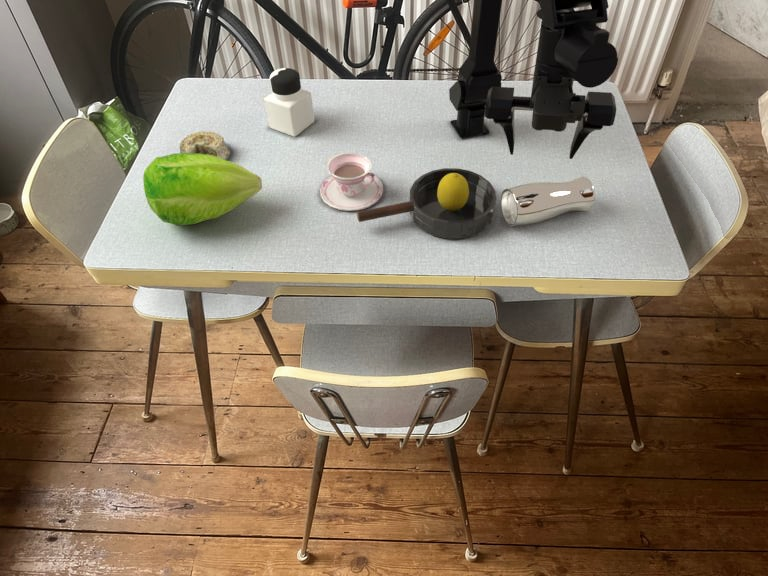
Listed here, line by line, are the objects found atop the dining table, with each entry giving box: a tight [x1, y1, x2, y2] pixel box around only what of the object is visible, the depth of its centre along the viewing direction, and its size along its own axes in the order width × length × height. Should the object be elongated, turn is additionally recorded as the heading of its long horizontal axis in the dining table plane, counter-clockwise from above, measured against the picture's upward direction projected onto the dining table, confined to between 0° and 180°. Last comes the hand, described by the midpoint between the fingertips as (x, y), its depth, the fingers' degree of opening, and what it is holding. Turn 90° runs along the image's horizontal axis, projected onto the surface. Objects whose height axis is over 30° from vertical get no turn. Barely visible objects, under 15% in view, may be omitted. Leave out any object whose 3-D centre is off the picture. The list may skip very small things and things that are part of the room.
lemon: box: [437, 173, 469, 211], centre depth 101 cm, size 6×6×8 cm
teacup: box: [319, 152, 384, 212], centre depth 107 cm, size 12×12×6 cm
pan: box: [409, 167, 498, 240], centre depth 103 cm, size 15×15×4 cm
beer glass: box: [499, 176, 596, 227], centre depth 101 cm, size 7×7×15 cm
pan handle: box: [356, 200, 414, 223], centre depth 100 cm, size 2×10×2 cm, turn 106°
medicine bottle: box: [263, 67, 315, 138], centre depth 120 cm, size 7×7×12 cm
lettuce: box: [142, 152, 263, 226], centre depth 101 cm, size 14×20×12 cm
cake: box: [179, 130, 231, 160], centre depth 116 cm, size 10×10×5 cm
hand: (540, 155), depth 92 cm, fingers open, 9 cm apart
